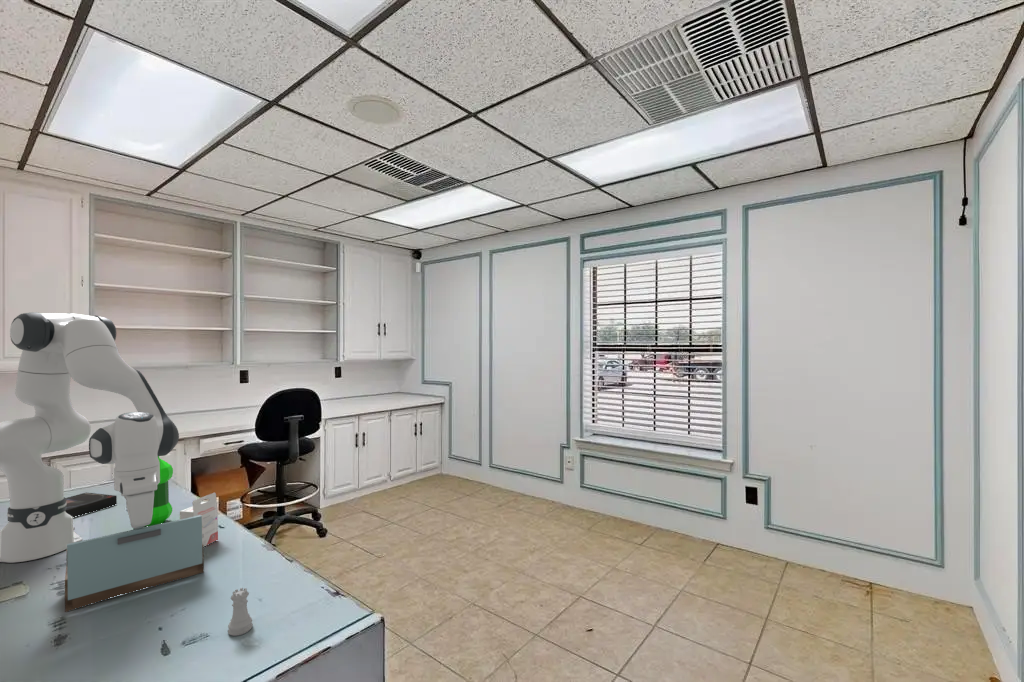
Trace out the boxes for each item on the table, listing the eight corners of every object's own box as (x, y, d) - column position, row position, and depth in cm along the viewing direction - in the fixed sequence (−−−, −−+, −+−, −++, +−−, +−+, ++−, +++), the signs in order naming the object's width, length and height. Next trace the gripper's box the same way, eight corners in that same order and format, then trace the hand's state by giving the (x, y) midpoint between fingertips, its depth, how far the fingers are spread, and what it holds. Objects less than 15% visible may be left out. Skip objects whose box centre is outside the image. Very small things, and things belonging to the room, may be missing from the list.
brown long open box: (67, 591, 113) (66, 549, 113) (196, 557, 131) (195, 521, 131) (65, 612, 104) (64, 566, 104) (203, 572, 122) (203, 533, 122)
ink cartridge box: (204, 539, 142) (203, 491, 143) (218, 540, 142) (217, 491, 142) (179, 552, 134) (178, 500, 134) (194, 553, 133) (193, 501, 133)
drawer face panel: (68, 598, 104) (67, 544, 104) (201, 561, 121) (200, 514, 121) (67, 601, 103) (66, 546, 103) (203, 564, 119) (202, 516, 120)
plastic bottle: (173, 524, 155) (172, 448, 155) (132, 532, 149) (131, 453, 149) (174, 515, 163) (173, 443, 163) (135, 522, 157) (134, 448, 158)
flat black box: (29, 519, 165) (29, 507, 165) (86, 502, 181) (86, 492, 181) (61, 523, 160) (61, 511, 160) (116, 506, 176) (116, 495, 176)
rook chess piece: (234, 624, 98) (233, 586, 98) (256, 623, 99) (256, 584, 99) (223, 637, 94) (222, 597, 94) (246, 636, 94) (245, 596, 94)
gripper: (118, 473, 121) (119, 527, 121) (123, 490, 106) (124, 551, 106) (149, 468, 126) (150, 520, 126) (158, 484, 110) (159, 543, 110)
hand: (138, 535), depth 116 cm, fingers closed
